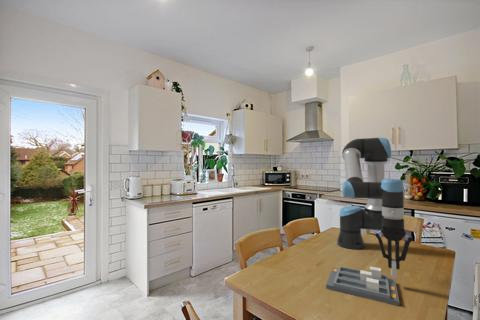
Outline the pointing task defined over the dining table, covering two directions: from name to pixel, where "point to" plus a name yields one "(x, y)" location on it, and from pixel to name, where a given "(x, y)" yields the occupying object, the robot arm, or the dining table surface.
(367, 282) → the tab
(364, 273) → the tab
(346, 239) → the robot arm
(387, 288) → the switch board
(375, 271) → the tab
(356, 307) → the dining table surface
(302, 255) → the dining table surface
